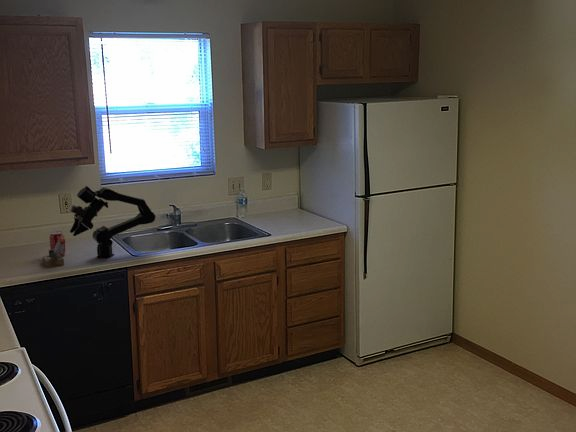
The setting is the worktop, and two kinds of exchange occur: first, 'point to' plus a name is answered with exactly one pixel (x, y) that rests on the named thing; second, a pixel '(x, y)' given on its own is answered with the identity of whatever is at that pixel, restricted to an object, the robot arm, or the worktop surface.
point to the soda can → (54, 240)
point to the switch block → (53, 259)
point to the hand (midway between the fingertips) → (72, 234)
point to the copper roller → (59, 245)
